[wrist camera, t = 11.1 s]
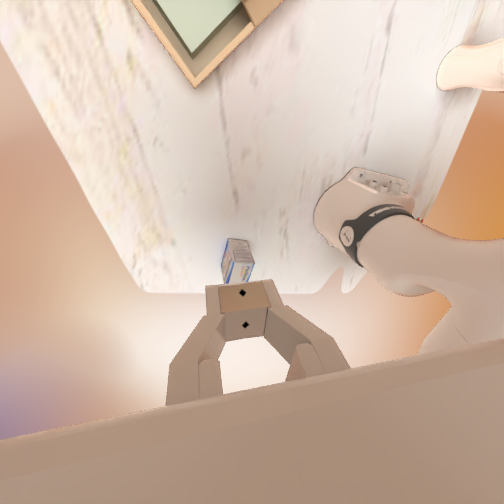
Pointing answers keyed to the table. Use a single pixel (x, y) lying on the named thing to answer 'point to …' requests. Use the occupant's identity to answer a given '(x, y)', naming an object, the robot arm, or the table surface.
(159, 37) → the mailer box
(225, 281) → the medicine box
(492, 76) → the beer glass
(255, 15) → the mailer lid
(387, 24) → the table surface
